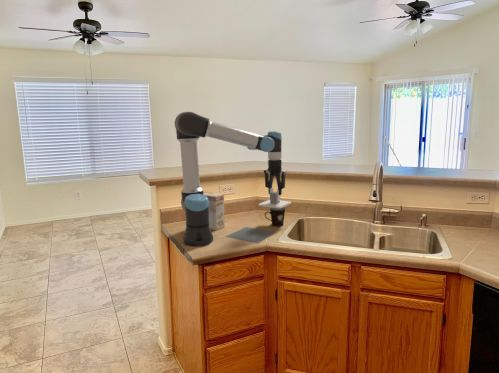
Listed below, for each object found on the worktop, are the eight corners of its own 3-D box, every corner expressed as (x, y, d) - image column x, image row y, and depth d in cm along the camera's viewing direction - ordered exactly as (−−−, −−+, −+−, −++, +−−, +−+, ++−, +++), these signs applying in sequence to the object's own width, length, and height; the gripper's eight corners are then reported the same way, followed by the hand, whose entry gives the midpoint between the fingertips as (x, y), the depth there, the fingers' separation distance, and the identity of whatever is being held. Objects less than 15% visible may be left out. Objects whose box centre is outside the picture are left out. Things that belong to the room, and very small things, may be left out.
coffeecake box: (225, 227, 208) (224, 194, 204) (216, 230, 203) (215, 196, 199) (207, 223, 217) (205, 191, 214) (198, 226, 212) (196, 193, 208)
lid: (258, 205, 207) (258, 193, 206) (270, 200, 219) (270, 189, 217) (280, 208, 200) (279, 196, 198) (291, 203, 211) (291, 191, 210)
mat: (225, 237, 191) (225, 236, 191) (246, 227, 208) (246, 226, 208) (257, 243, 181) (257, 243, 181) (277, 232, 197) (277, 232, 197)
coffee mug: (285, 223, 215) (285, 206, 213) (285, 227, 207) (285, 210, 205) (265, 222, 216) (265, 206, 214) (264, 227, 208) (264, 210, 206)
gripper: (291, 159, 203) (291, 200, 207) (265, 157, 212) (265, 197, 216) (285, 160, 197) (285, 203, 201) (258, 159, 206) (258, 199, 210)
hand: (275, 200), depth 209 cm, fingers closed on lid, 4 cm apart
